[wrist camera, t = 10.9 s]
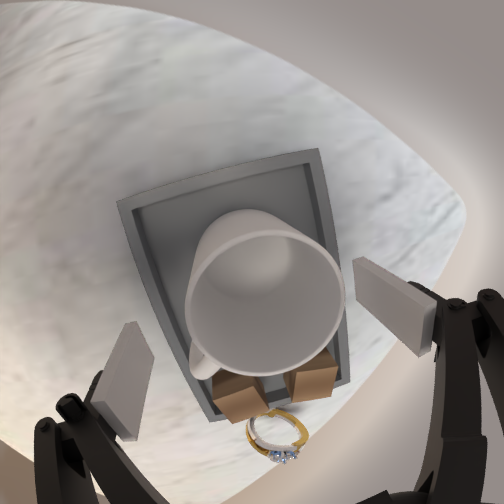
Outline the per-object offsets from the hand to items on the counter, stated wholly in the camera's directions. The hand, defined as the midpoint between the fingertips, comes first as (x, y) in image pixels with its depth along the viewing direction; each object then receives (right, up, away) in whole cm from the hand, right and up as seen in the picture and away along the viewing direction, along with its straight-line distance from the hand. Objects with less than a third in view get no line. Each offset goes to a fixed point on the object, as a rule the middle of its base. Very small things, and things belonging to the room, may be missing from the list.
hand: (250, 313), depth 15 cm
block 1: (-1, -10, +11) cm, 15 cm away
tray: (0, -1, +10) cm, 10 cm away
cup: (-2, +2, +8) cm, 9 cm away
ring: (+2, -15, +14) cm, 21 cm away
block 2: (+5, -8, +12) cm, 15 cm away
